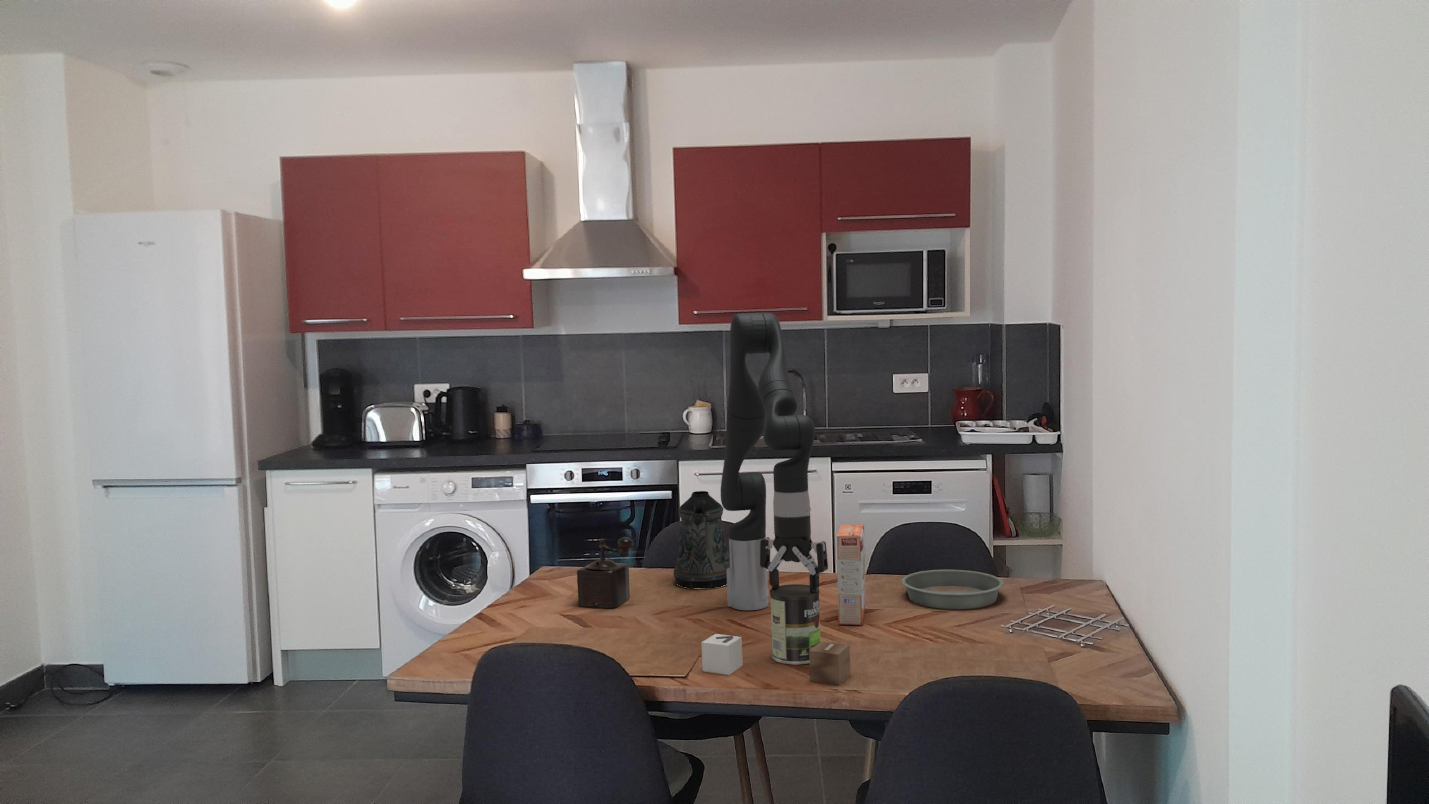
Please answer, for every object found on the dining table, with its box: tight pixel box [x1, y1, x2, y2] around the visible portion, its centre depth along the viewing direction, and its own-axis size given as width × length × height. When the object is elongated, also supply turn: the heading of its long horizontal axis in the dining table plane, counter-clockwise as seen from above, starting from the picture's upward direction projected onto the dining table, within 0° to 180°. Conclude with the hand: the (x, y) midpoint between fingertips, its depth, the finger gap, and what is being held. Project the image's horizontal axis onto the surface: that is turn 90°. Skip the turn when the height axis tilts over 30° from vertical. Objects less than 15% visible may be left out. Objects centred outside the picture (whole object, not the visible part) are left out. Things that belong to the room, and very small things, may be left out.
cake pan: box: [901, 569, 1004, 610], centre depth 243 cm, size 25×25×4 cm
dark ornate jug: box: [672, 490, 730, 589], centre depth 265 cm, size 16×19×25 cm
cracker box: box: [836, 523, 866, 626], centre depth 228 cm, size 14×6×21 cm, turn 168°
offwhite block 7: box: [701, 633, 744, 676], centre depth 197 cm, size 6×6×6 cm
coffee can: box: [768, 583, 821, 666], centre depth 202 cm, size 10×10×14 cm
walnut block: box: [809, 641, 851, 685], centre depth 189 cm, size 6×6×6 cm
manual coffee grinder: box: [576, 536, 634, 609], centre depth 249 cm, size 16×11×18 cm
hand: (794, 589), depth 201 cm, fingers open, 8 cm apart
